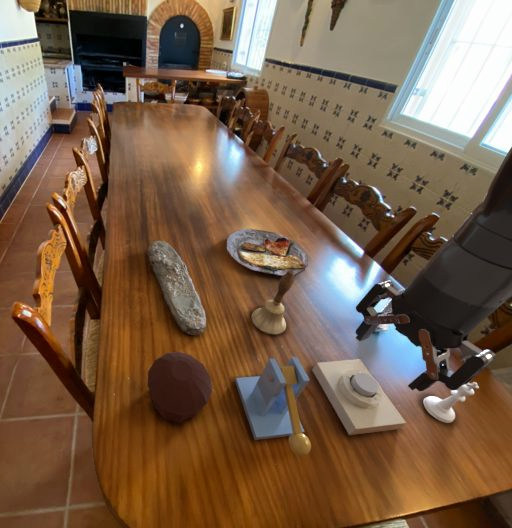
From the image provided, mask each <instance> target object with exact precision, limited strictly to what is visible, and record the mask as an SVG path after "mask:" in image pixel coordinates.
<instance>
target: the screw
mask: <svg viewBox="0 0 512 528" xmlns="http://www.w3.org/2000/svg"><path fill="white" fill-rule="evenodd" d="M404 290H405V289H399V290H397V291H398V292H399V293H400V294H401V293H403V291H404ZM391 300H392V299H391V298H389V300H388V302H387V303H386V304H385V305H384V307H383V308H382V309H381V310H380V312H387V311H392V306H391ZM389 329H390V324H379V325H378V327H377V328H376V329H375V330H374V331H373V333H377V332H386V331H388V330H389Z"/></svg>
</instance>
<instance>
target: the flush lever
mask: <svg viewBox="0 0 512 528" xmlns="http://www.w3.org/2000/svg"><path fill="white" fill-rule="evenodd" d="M279 368H280V370H281V372H282V374H283V376H284V379H285V381H286V384H285V386H284V392H285V397H286V402H287V407H288V412H289V417H290V422H291V427H292V432H293V433H292V434H291V435H290V436H288V442H287V443H288V447H289V449H290V450H291V452H292V453H294V454H295V455H297V456H299V457H305V456H308V455H309V454H310V453H311V450H312V443H311V440H310V438H309V437H308V436H307V435H306V434H305V433H302V430H301V425H302V424H301V425H300V423H301V420H300V415H299V413H298V407H297V402H296V400H295V397H294V392H293V387H292V384H297V380H296V375H295V371H294V366H287V365H283V366H282V365H281V366H279Z"/></svg>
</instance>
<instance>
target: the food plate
mask: <svg viewBox="0 0 512 528" xmlns="http://www.w3.org/2000/svg"><path fill="white" fill-rule="evenodd" d="M226 250H227V252H228V254H229V255H230V256H231V258H233V259H234V260H235V261H236V262H237V263H239V264H240V265H242V266H243V267H245V268H247V269H249V270H251V271H256V272H261V273H264V274H269V275H274V276H281V277H282V276H283V275H284V274H286V273H287V271H288V270H292V271H294V277H295V276H297V275H300V274H301V273H303V272H305V271H306V269H307V268H308V265H309V259H308V254H307V252H306V251H305V250H304V249H303V248H302V247H301V246H300V245H299V244H298V243H297V242H295V241H294V240H292V239H291V238H288V237H286V236H284V235H281V234H279V233H277V232H273V231H268V230H262V229H254V228H242V229H238V230H236V231H234V232H232V233H230V234H229V235H228V237H227V239H226Z"/></svg>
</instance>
